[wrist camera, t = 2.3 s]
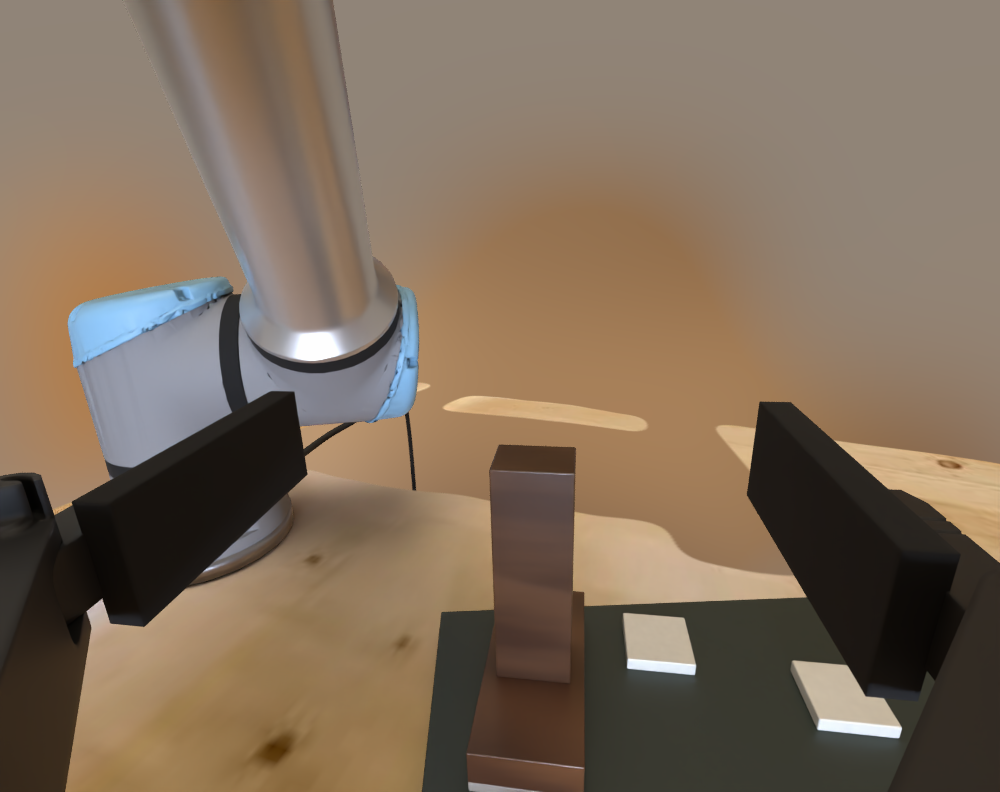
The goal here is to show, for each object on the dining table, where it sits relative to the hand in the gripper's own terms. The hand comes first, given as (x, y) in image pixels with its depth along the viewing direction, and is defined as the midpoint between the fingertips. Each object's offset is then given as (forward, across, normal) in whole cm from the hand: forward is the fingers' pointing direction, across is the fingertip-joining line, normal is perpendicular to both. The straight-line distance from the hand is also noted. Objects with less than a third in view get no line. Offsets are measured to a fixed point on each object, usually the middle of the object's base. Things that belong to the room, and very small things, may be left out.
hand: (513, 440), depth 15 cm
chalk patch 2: (+11, +17, -20) cm, 29 cm away
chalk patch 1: (+14, +7, -20) cm, 26 cm away
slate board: (+12, +10, -22) cm, 27 cm away
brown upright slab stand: (+10, 0, -20) cm, 22 cm away
